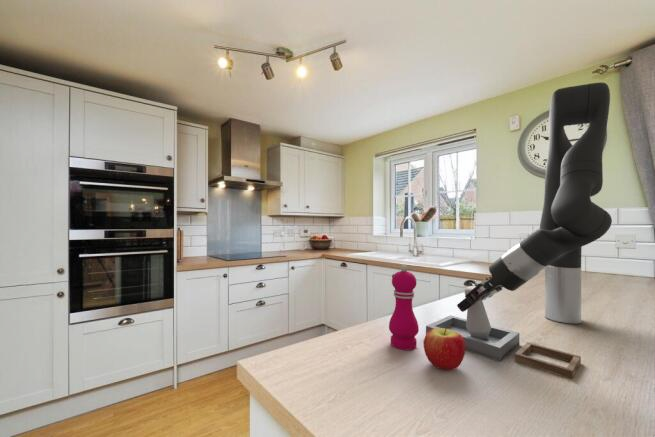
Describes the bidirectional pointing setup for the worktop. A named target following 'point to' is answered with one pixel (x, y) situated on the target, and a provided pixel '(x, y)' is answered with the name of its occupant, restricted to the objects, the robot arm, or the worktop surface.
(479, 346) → the tray
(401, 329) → the pepper mill
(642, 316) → the worktop surface
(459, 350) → the apple
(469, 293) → the robot arm
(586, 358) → the worktop surface
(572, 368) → the wooden square frame
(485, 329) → the salt shaker
